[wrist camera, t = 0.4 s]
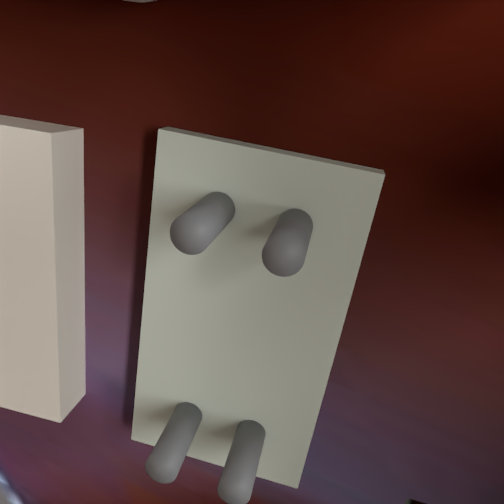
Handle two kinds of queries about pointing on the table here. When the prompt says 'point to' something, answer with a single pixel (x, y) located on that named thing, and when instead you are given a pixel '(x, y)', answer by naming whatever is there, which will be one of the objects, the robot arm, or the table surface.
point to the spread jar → (140, 0)
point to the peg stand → (244, 303)
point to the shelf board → (41, 267)
